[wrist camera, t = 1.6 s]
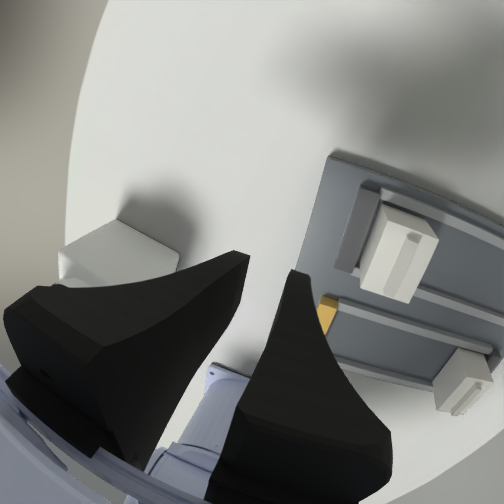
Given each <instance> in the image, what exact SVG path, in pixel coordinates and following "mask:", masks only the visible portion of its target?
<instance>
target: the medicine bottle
mask: <svg viewBox="0 0 504 504" xmlns="http://www.w3.org/2000/svg"><path fill="white" fill-rule="evenodd" d="M178 260H179V254H178V253H177V252H176V251H174V250H172V249H170V248H168V247H166V246H164V245H162V244H161V243H159V242H157V241H155V240H153V239H151V238H149V237H148V236H146V235H144V234H142V233H140V232H138V231H137V230H135V229H133V228H131V227H129V226H128V225H126V224H124V223H122V222H120V221H119V220H116V219H115V220H113V221H111V222H109V223H107V224H105V225H103V226H101V227H99V228H98V229H96V230H94V231H92V232H90V233H88V234H87V235H85V236H83V237H81V238H79V239H78V240H76V241H74V242H72V243H71V244H69V245H67V246H65V247H64V248H62V249H60V250H59V252H58V261H59V278H60V279H59V281H57V282H56V283H55V284H53V285H52V286H50V287H69V288H80V287H102V286H112V285H119V284H127V283H134V282H139V281H144V280H149V279H153V278H157V277H161V276H165V275H168V274H172V273H175V272H176V268H177V264H178Z"/></svg>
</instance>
